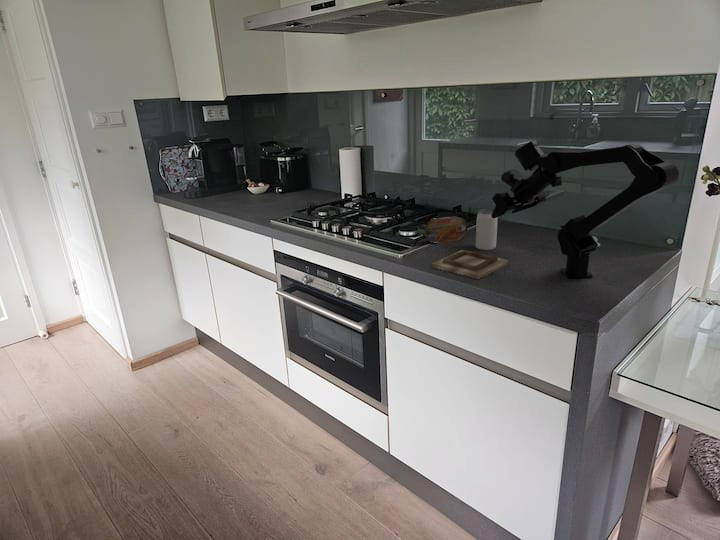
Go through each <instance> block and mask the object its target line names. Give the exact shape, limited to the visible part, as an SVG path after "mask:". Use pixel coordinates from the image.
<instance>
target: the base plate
mask: <svg viewBox="0 0 720 540" xmlns="http://www.w3.org/2000/svg"><path fill="white" fill-rule="evenodd" d="M507 265H509V260H508V259H506V258H501V257H497V256H492V255H490V254H489V255H488V254H484V253H480V252H474V251H470V250H465V249H461V250H458V251H456V252H455V253H452V254H450V255H448V256H445V257H443V258H441V259H438V260H437V261H434V262H432V263H431V268H434V269H436V268H437V269H436V270H440V269H441V271H444V270H446V271H445V272H448V271H450V272H449V273H451V272H454V273H453V274H455V273H458V274H457V275H459V274H462V275H461V276H463V275H466V276H469V277H468V278H470V277H473V278H472V279H474V278H476V279H475V280H478V279H480V278H482V277H483V278H485V277H487V276H489V275H491V274H493V273H495V272H496V271H498V270H500V269H502V268H504V267H505V266H507ZM494 271H495V272H494ZM492 272H493V273H492ZM490 273H491V274H490ZM488 274H489V275H488ZM486 275H487V276H486ZM466 276H465V277H466ZM484 276H485V277H484ZM483 278H482V279H483ZM480 280H481V279H480Z"/></svg>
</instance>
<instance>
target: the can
mask: <svg viewBox="0 0 720 540" xmlns="http://www.w3.org/2000/svg"><path fill="white" fill-rule="evenodd" d="M493 211H494V209H480V210H478V213H477V215H476V221H475V222H476V227H475V229H476V230H475V248H476V249H477V250H480V251H493V250H495V248H496V247H497V237H498V235H497V234H498V233H497V232H498V218H499V217H497V218H494V219H493V218H492V217H491V215H492V213H493Z"/></svg>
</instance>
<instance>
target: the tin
mask: <svg viewBox="0 0 720 540" xmlns="http://www.w3.org/2000/svg"><path fill="white" fill-rule="evenodd" d="M467 232H468V223H467V221H466V219H465V218H463V217H459V216H455V215H454V216H445V217H439V218H438V217H437V218H433V219H430V220H429V221H428V222H427V223H426V224H425V226H424V236H425V238H426V239H427V241H429V242H430V243H432V242H441V243H440V244H444V243H451V242H458V241H460V240H462V239H463V238H464V237H465V236H466V234H467Z"/></svg>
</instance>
